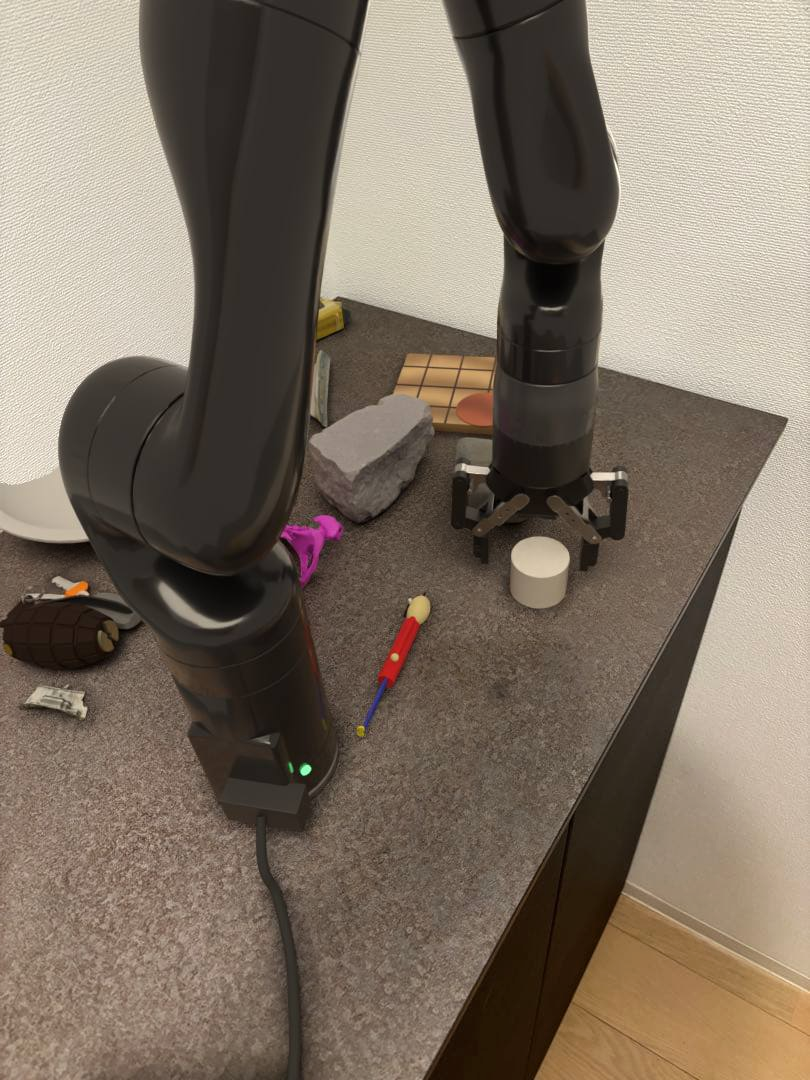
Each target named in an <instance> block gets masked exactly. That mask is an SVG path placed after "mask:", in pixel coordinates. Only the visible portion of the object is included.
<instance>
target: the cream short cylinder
mask: <svg viewBox="0 0 810 1080" xmlns="http://www.w3.org/2000/svg"><path fill="white" fill-rule="evenodd" d="M570 561H571V557H570V553H569V551H568V549H567V548H566V546H565V545H564V544H562V542H560V541H558V540H557V539H554V538H551V537H549V536H543V535H542V536H541V535H540V536H539V535H538V536H530V537H525V538H523V539H521V540H520V541H518V542H517V543H516V544H515V545H514V546H513V547H512V550H511V553H510V568H509V569H510V571H509V572H510V573H509V591H510V594H511V595H512V597H513V598H514V600H515V601H516V602H518V603H519V604H521V605H522V606H524V607H527V608H530V609H538V610H539V609H540V610H541V609H542V610H543V609H549V608H552V607H554V606H556V605H558V604H559V603H560V602H562V600H563V599H564V598H565V596H566V593H567V587H568V579H569V570H570Z"/></svg>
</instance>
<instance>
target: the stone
mask: <svg viewBox="0 0 810 1080" xmlns="http://www.w3.org/2000/svg"><path fill="white" fill-rule="evenodd" d="M461 457H465V458H467V459H469V460H470V463H471V466H481V467H488V466H489V465H490V464H491V462H492V439H488V438H487V439H486V438H479V437H469V436H466V437H462V438H460V439H459V440H458V441H457V443H456V446H455V451H454V466H455V465H456V460H457V459H458V458H461ZM491 492H492V491H491V490H490V489H489V488H488V487H487V485H486V483H481V484H479V485H478V488H477V490H476V491H474V492H472V494H469V498H468V507H471V508H474V509H477V508H478V507H479V506H480V505H481V504H482V503H483V502H484V501H485V500H486V499H487V498H488V497H489V495H490V493H491ZM527 519H528V518H518V515H516V514H513V515H512V516H510V517H509V518H508V519H507V520H506V521H505V522H504V523H506V524H514V523H515V524H516V523H522V522H524V521H526V520H527Z"/></svg>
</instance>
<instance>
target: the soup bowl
mask: <svg viewBox="0 0 810 1080" xmlns="http://www.w3.org/2000/svg"><path fill="white" fill-rule="evenodd" d="M0 531H3V532H4V533H7V534H10V535H11V536H14V537H18V538H21V539H23V540H24V539H25V540H28V541H34V542H41V543H48V544H49V543H50V544H76V543H77V544H78V543H86V542H90V541H89V539H88V537H87V535H86V533H85V532H84V530H83V528H82V526H81V524H80V522H79V520H78V518H77V516H76V514H75V512H74V510H73V508H72V505H71V503H70V501H69V498H68V496H67V493H66V490H65V487H64V485H63V481H62V477H61V472H60V467H59V466H58V467H57V468H56V469H54V470H52V472H51V473H49V474H47V475H45V476H43V477H41V478H38V479H34V480H33V481H32V480H31V481H29V482H25V483H22V484H18V485H17V484H15V485H14V484H13V485H11V484H9V485H8V484H6V483H4V484H3V483H0Z"/></svg>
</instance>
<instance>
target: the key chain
mask: <svg viewBox="0 0 810 1080" xmlns="http://www.w3.org/2000/svg"><path fill="white" fill-rule="evenodd" d="M51 583H52V584H55V585H56V586H57V587H58V588H62V589H63V591H64V594H56V593H44V595H43V596H42V597H41V598H40V599H39V600H54V599H59V598H64V597H69V596H75V595H88V596H90V593H89V592H88V590H89V589H88V588H89V584H88V583H87V582H86V581H78V582H72V581H70V580H68V579H67V578H65V577H62V576H61V575H57V576H55V577H53V578H52V580H51ZM39 594H40V593H38V592H37V593H36V592H35V593H27V594H26V596H27V595H31V596H33V598H35V597H37V596H38V595H39ZM93 596H95V597H100V598H104V599H109V600H114V601H117V602H120V603H123V604H124V605H126V606H128V605H127V604H126V603H125V602H124V600H123V599H122V598H121V596H120V595H119V593H113V592H99V593H96V594H93ZM21 598H23V594H22V595H21ZM87 607H88V606H87ZM128 607H129V606H128ZM90 608H93V609H95V610H96V611H99V612H101V613H103V614H105V615H107V616H109V617H110V618H112V619H113V621H114V622H115V623H116V625H117V627H118V629H121V630H129V629H132V628H135V626H137V625H138V624H139V623H141V622H143V621H142V620H141V619H140V618H139V617H138V616H137V615H136V614H135V613H134V612H133V613H131V614H129V615H128V614H122V613H118V612H114V611H110V610H107V609H102V608H96V607H90Z"/></svg>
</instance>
